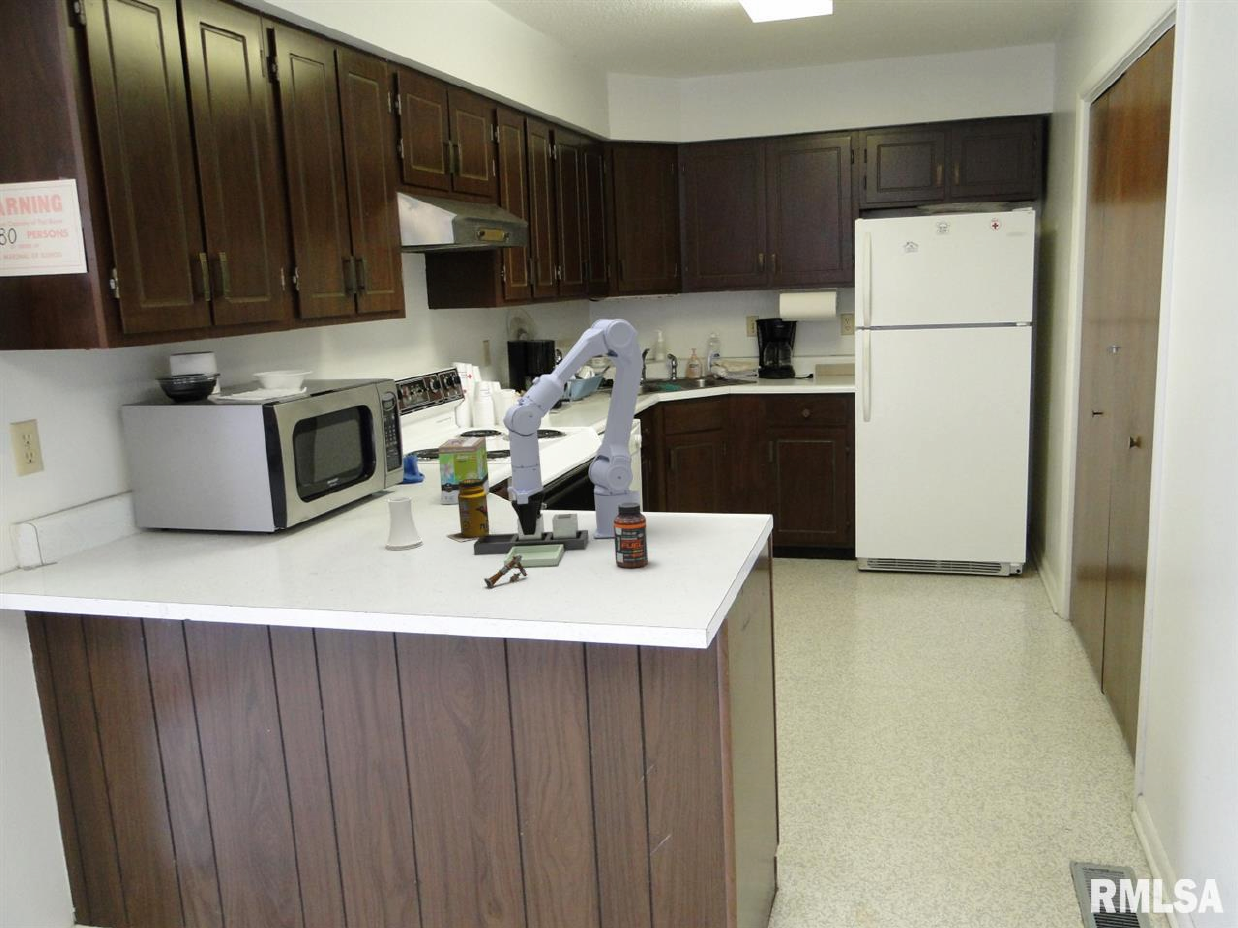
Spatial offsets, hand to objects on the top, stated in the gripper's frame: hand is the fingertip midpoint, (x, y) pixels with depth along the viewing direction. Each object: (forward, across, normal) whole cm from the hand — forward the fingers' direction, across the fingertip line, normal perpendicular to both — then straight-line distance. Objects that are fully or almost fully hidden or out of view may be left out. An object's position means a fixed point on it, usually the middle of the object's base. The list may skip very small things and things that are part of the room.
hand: (531, 531), depth 199 cm
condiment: (+3, -12, -15) cm, 20 cm away
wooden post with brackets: (+3, +24, -1) cm, 24 cm away
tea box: (+3, -53, -25) cm, 59 cm away
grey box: (+3, 0, 0) cm, 3 cm away
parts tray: (+3, +10, +2) cm, 11 cm away
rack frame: (+3, 0, 0) cm, 3 cm away
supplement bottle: (+3, +16, +21) cm, 27 cm away
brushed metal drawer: (+3, 0, +7) cm, 8 cm away
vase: (+3, -6, -28) cm, 29 cm away
